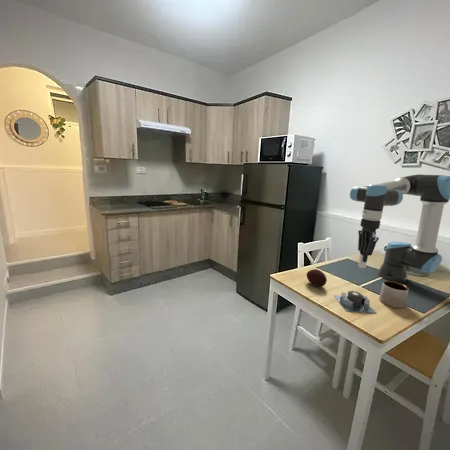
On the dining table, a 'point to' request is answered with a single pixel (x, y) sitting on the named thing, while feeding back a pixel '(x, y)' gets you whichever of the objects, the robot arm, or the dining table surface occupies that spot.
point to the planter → (394, 294)
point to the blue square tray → (349, 304)
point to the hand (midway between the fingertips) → (361, 267)
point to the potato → (316, 277)
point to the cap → (355, 298)
